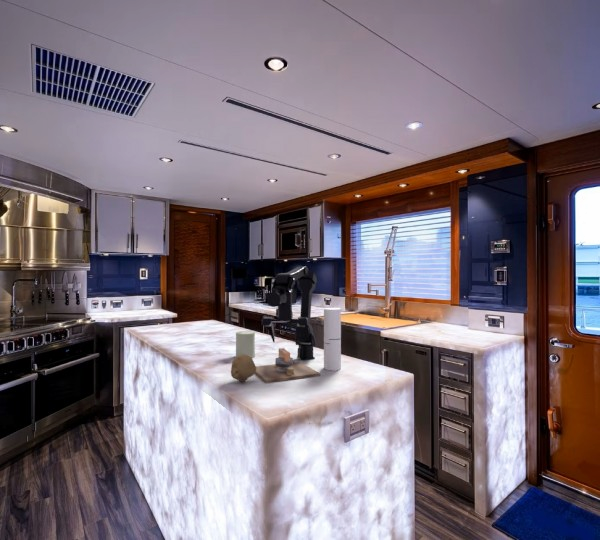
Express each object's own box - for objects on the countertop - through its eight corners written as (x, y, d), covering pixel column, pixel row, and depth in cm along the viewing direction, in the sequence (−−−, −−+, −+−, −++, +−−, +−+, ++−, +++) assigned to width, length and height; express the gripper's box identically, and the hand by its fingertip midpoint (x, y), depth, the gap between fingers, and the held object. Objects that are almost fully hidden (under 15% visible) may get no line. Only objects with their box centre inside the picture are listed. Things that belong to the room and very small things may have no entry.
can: (233, 355, 173) (233, 330, 173) (251, 353, 177) (251, 329, 177) (238, 359, 164) (238, 333, 164) (257, 357, 168) (257, 332, 168)
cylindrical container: (340, 370, 146) (340, 309, 146) (322, 369, 147) (322, 309, 147) (341, 366, 153) (341, 308, 153) (325, 365, 154) (325, 307, 154)
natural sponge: (259, 379, 134) (259, 352, 134) (249, 386, 126) (249, 358, 126) (238, 377, 137) (238, 351, 137) (226, 384, 128) (226, 356, 128)
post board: (299, 363, 157) (299, 356, 157) (319, 375, 139) (319, 367, 139) (250, 369, 148) (250, 361, 148) (266, 383, 130) (266, 374, 130)
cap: (295, 366, 140) (295, 351, 140) (278, 368, 138) (278, 353, 138) (289, 361, 149) (289, 347, 149) (272, 362, 146) (272, 348, 146)
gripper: (308, 302, 154) (308, 338, 154) (265, 302, 155) (265, 338, 155) (307, 305, 142) (307, 343, 143) (261, 305, 143) (261, 343, 144)
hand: (285, 342), depth 146 cm, fingers open, 9 cm apart
